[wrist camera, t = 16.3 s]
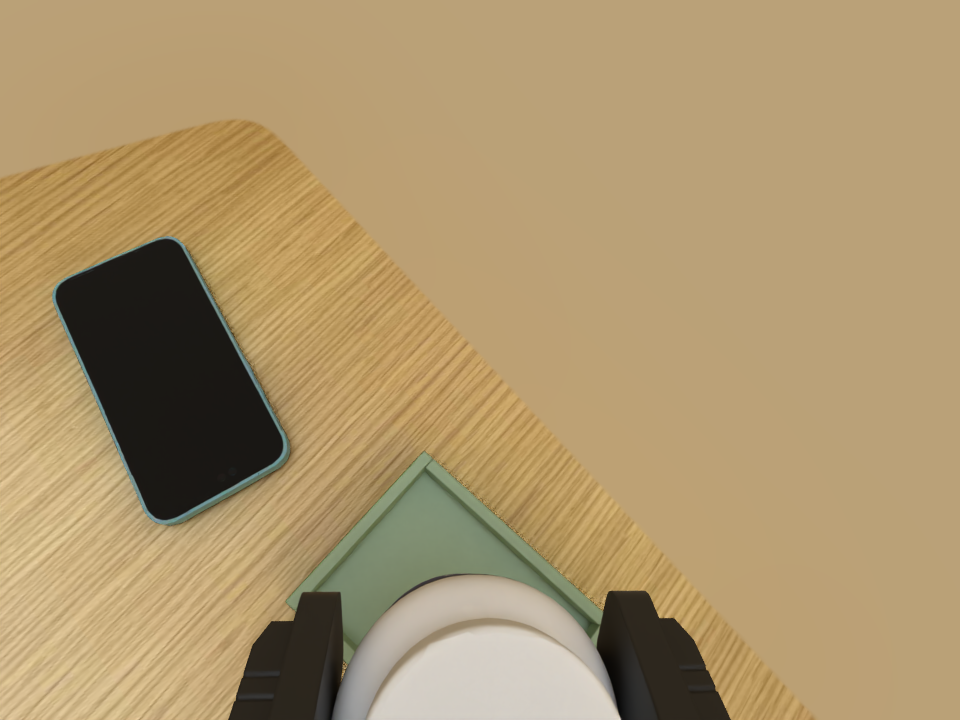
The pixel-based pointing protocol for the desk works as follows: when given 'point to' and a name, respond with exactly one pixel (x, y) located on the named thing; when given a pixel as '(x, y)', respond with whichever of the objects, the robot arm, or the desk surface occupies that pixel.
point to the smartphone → (169, 380)
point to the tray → (430, 553)
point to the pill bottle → (475, 658)
